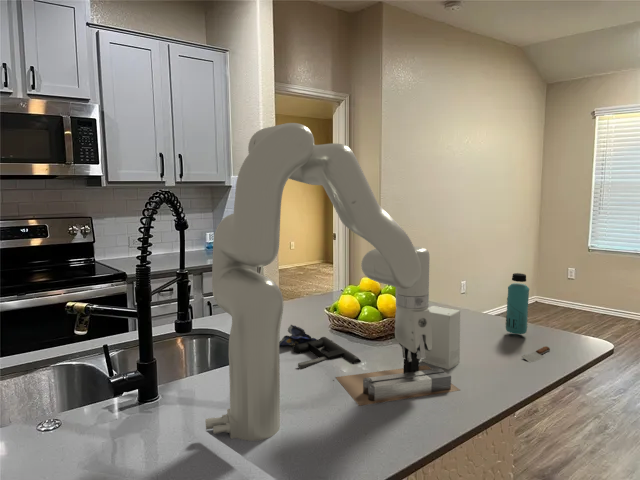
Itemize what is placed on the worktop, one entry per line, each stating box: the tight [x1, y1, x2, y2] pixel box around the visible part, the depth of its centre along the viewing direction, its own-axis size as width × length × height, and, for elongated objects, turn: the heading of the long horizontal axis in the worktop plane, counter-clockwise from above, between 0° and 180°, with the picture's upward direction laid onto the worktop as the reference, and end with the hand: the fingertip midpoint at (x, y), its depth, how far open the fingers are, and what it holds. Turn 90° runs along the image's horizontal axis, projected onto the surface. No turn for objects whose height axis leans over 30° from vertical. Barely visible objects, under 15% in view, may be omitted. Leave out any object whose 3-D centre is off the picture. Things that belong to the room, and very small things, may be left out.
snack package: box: [279, 324, 318, 346], centre depth 141 cm, size 12×6×12 cm
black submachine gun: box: [292, 336, 362, 370], centre depth 129 cm, size 3×20×16 cm
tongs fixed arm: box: [368, 371, 452, 401], centre depth 105 cm, size 20×2×3 cm, turn 108°
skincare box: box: [420, 305, 461, 370], centre depth 123 cm, size 8×7×16 cm
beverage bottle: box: [504, 272, 530, 335], centre depth 148 cm, size 6×7×20 cm
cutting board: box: [335, 364, 461, 407], centre depth 111 cm, size 25×15×2 cm, turn 108°
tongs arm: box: [363, 367, 446, 394], centre depth 108 cm, size 20×2×3 cm, turn 107°
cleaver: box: [521, 345, 551, 363], centre depth 132 cm, size 13×2×5 cm
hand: (411, 375), depth 111 cm, fingers closed
